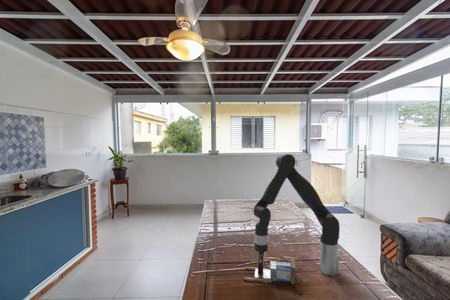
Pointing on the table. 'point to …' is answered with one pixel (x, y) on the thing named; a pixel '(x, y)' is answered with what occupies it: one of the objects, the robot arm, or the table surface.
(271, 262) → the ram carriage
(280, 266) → the medicine box
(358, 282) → the table surface
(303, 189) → the robot arm
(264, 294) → the table surface
